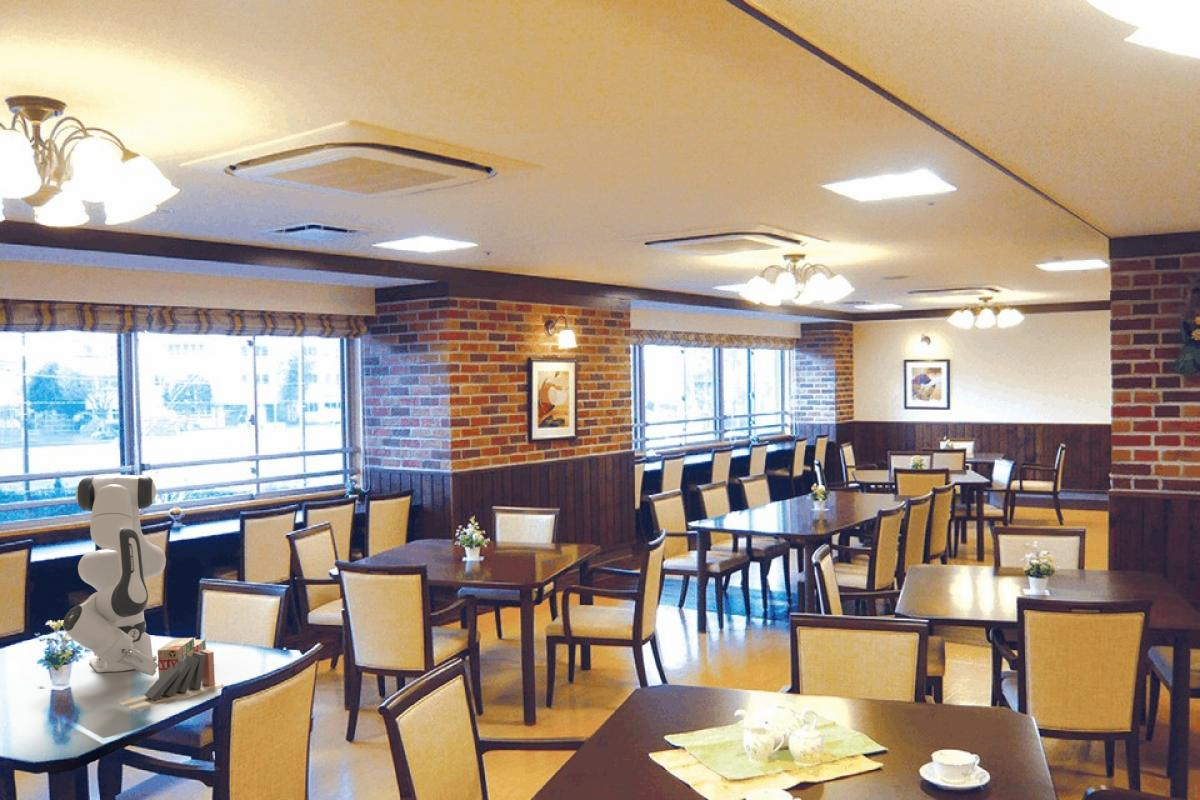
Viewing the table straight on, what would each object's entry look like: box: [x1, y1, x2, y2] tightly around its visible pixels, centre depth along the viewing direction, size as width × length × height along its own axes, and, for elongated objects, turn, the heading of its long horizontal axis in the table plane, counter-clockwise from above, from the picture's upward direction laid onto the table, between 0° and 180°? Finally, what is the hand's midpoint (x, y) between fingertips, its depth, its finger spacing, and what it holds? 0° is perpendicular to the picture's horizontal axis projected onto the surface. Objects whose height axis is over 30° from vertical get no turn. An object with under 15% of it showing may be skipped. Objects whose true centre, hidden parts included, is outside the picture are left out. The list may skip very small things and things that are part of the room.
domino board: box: [117, 682, 224, 712], centre depth 282 cm, size 13×26×1 cm, turn 139°
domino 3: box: [176, 655, 200, 693], centre depth 286 cm, size 2×5×10 cm, turn 48°
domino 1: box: [143, 667, 181, 701], centre depth 280 cm, size 2×5×10 cm
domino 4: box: [188, 652, 206, 689], centre depth 288 cm, size 2×5×10 cm, turn 49°
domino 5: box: [200, 648, 216, 686], centre depth 291 cm, size 2×5×10 cm, turn 49°
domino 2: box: [162, 661, 191, 697], centre depth 283 cm, size 2×5×10 cm
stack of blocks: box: [157, 637, 207, 679], centre depth 302 cm, size 21×6×12 cm, turn 1°
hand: (152, 672), depth 278 cm, fingers closed
